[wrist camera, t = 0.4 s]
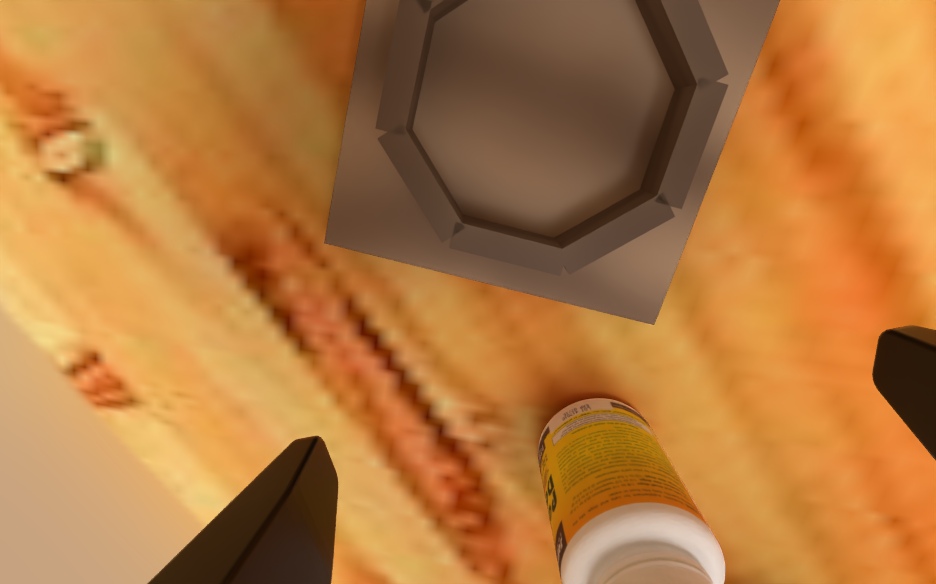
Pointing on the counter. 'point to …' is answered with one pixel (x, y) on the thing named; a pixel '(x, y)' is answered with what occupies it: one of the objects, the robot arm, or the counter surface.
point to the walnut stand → (542, 139)
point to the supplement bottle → (621, 502)
